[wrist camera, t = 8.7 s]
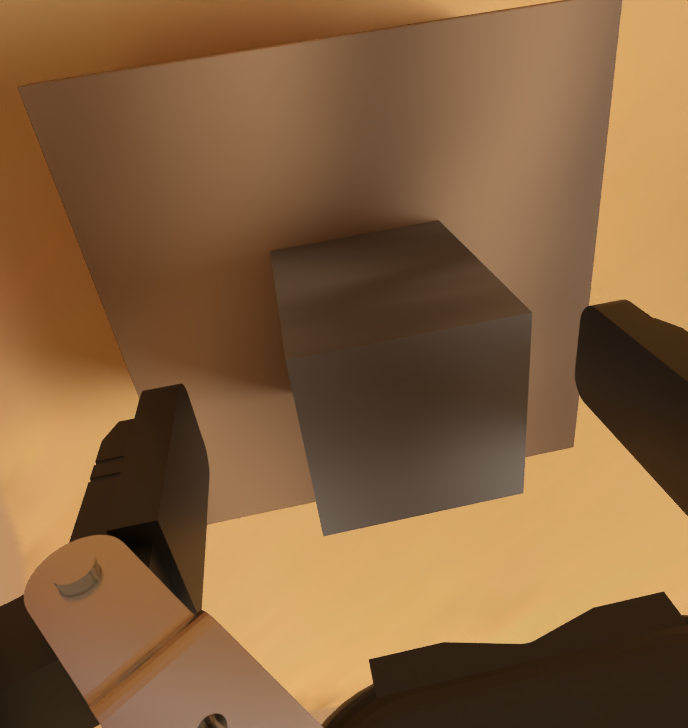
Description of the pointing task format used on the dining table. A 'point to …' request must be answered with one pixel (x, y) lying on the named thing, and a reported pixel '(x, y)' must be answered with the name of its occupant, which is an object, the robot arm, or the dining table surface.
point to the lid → (351, 249)
